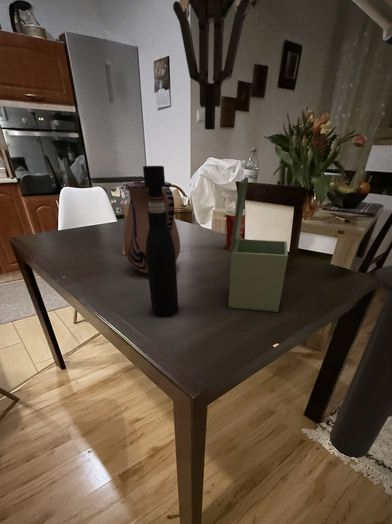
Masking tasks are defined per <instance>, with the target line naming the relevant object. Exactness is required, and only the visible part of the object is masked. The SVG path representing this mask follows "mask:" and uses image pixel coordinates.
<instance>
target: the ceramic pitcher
mask: <svg viewBox="0 0 392 524" xmlns="http://www.w3.org/2000/svg"><path fill="white" fill-rule="evenodd" d="M124 185H125V187H126V189H127V191H128V193H129V204H128V205H129V209H128V215H127V221H126V227H125V234H124V233H123V236H124V250H125V253H126V255H125V257H126V258H127V260H128V262H129V263H130V264H131V266H133V267H134V268H135V269H136V270H137V271H139V272H140V273H143V274H148V268H147V260H146V240H147V235H148V230H149V219H148V212H149V211H150V210H149V206H148V204H149V201H164V204H165V205H164V207H165V211H166V212H167V226H168V229H169V231H170V234H171V237H172V240H173V244H174V248H175V256H176V261H177V260H178V258H179V256H180V252H181V240H180V234H179V230H178V226H177V223H176V220H175V206H176V205H175V198H174V195H173V191H172V190H171V188H170V187H171V186H172V183H171V182H168V181H165V186H164V187H162V196H163V198H162V199H158V200H152V199H150V198H149V187H145V182H143V181H140V180H139V181H133V182H126V183H125V184H124Z"/></svg>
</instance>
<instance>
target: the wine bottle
mask: <svg viewBox="0 0 392 524" xmlns="http://www.w3.org/2000/svg"><path fill="white" fill-rule="evenodd" d="M142 172H143V181H144V182H143V183H145V187H149V198H150V199H152V200H158V199H162V198H163V196H162V187H164V186H165V182H166V179H165V177H166V176H165V166H164V165H144V166H142ZM164 205H165V204H164V201H149V204H148V206H149V210H150V211H149V212H148V219H149V230H148V235H147V240H146V260H147V268H148V273H147V277H148V286H149V295H150V303H151V304H150V305H151V312H152V314H153V315H155V316H156V317H161V318H167V317H173V316H174V315H176V314H177V313H178V312H179V297H178V277H177V260H176V256H175V248H174V244H173V240H172V237H171V234H170V231H169V229H168V226H167V212H166V211H165V207H164Z"/></svg>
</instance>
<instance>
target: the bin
mask: <svg viewBox="0 0 392 524" xmlns="http://www.w3.org/2000/svg"><path fill="white" fill-rule="evenodd" d="M260 252H267V253H269V254H261V253H260ZM230 257H231V258H230V270H229V271H230V272H229V274H230V275H229V288H228V290H229V291H228V306H227V307H228V308H234V309H241V310H242V309H245V310H253V311H265V312H276V313H279V309H280V303H281V299H282V292H283V286H284V281H285V277H286V276H285V275H286V270H287V264H288V259H289V252H288V241H285V240H284V241H283V240H266V239H265V240H264V239H245V238H244V239H243V238H242V239H238V241H237V243H236V246H235V248H234V250H233V251H232V250H231V255H230Z"/></svg>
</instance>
